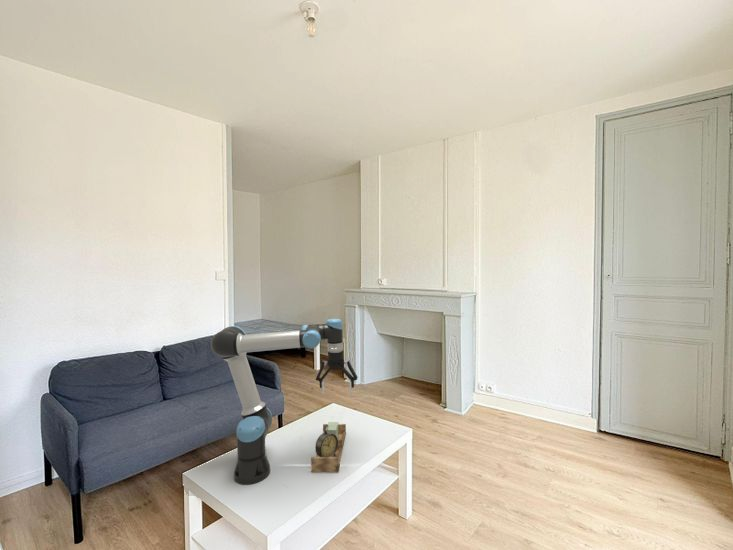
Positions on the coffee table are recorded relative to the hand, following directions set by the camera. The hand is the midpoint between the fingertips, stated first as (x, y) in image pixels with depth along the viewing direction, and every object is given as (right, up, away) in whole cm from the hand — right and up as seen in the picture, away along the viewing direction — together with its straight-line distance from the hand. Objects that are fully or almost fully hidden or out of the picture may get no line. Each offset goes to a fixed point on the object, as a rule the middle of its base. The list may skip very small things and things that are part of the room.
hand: (337, 394), depth 170 cm
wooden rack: (-4, -29, +1) cm, 29 cm away
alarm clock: (-4, -28, -7) cm, 29 cm away
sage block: (-3, -27, +9) cm, 29 cm away
